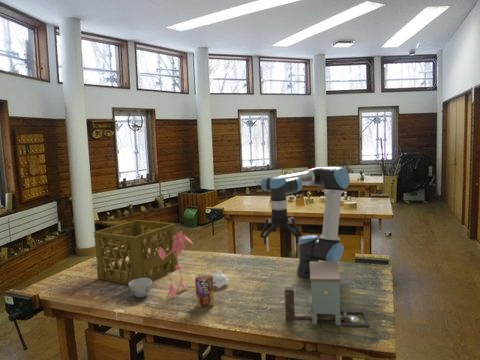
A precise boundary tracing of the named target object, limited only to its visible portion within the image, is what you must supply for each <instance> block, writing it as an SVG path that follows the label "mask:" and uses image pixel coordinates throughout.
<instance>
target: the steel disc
mask: <svg viewBox="0 0 480 360" xmlns="http://www.w3.org/2000/svg"><path fill="white" fill-rule="evenodd" d="M347 317H348V322H350V323H358V322H359V321H360V318H359V316H356V315H349V316H348V315H347Z"/></svg>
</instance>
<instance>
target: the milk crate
mask: <svg viewBox="0 0 480 360" xmlns="http://www.w3.org/2000/svg"><path fill="white" fill-rule="evenodd" d="M144 226H146V227H145V229H144ZM128 227H129V230H127V228H128ZM150 227H158V228H157V229H155V230H154V229H153V230H151V229H150ZM176 228H177V227H176V223H173V222H172V223H170V222H161V221H150V220H140V219H134V220H131V221H128V222H124V223H121V224H117V225H116V224H115V225H113V226H110V227H106V228H104V229H99V230H95V231H94V232H93V237H94V244H95V245H94V246H95V252H96V253H95V255H96V256H95V257H96V265H97V266H96V274H97V275H96V276H97V279H100V280H105V281H110V282H113V283H119V284H122V285H128V286H129V282H130V281H132V280H135V279H139V278H149V279H151V280H152V282H153V281H155V280H156V279H159V278H161V277H163V276H165V275H166V274H167V275H168V273H170V272H171V273H172V272H174V271H175V270H176V269H175V266H176V265H179V263H178V264H177V258H178V259H179V257H178V255H176V256H177V258H176V256H175V254H176V251H174V253H175V254H174V253H173V252H172V253H170V252H171V251H172V248H173V243H174V240H173V236H175V235H176V236H177V233H176ZM119 230H122V232H121V233H119V234H115V233H113V232H114V231H115V232H116V231H119ZM147 231H148V232H147ZM125 233H126V235H125ZM155 237H156V239H155ZM163 239H164V240H163ZM144 240H146V242H144ZM116 241H119V243H118V244H117V242H116ZM114 246H115V247H116V248H114ZM159 247H161V248H162V249H163V250H164V251H165V255H168V254H169V253H170V254H169V255H168V256H167V257H165V259H164V260H162V259H161V258H160V257H159V255H158V249H159ZM167 248H168V249H167ZM107 249H108V250H107ZM149 250H150V252H149ZM127 257H128V260H126V259H127ZM120 262H121V264H120Z"/></svg>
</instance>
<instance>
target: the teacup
mask: <svg viewBox="0 0 480 360" xmlns="http://www.w3.org/2000/svg"><path fill="white" fill-rule="evenodd" d="M152 284H153V281H152V280H151V279H149V278H139V279H135V280H132V281H130V282H129V285H128V288H129V290H130V293H131V294H132V295H133V296H135V297H136V298H144V297H146V296H148V293H150V291H151V288H152Z"/></svg>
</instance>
